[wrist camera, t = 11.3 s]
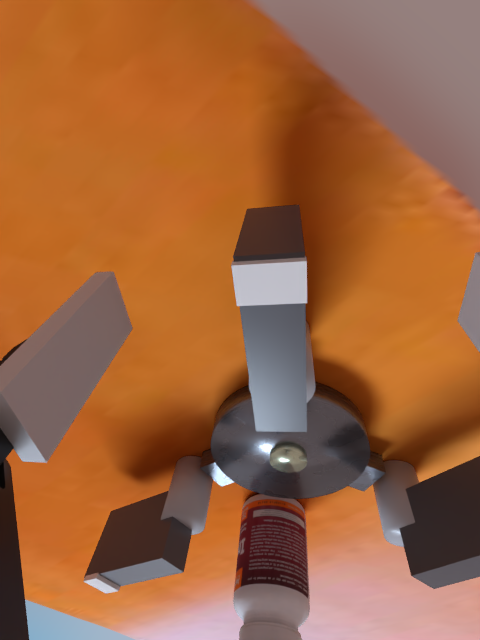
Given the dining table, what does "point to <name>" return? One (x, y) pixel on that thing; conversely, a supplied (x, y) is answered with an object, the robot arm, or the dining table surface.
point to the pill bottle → (272, 569)
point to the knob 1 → (152, 532)
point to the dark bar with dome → (433, 520)
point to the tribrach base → (293, 449)
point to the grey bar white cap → (275, 316)
